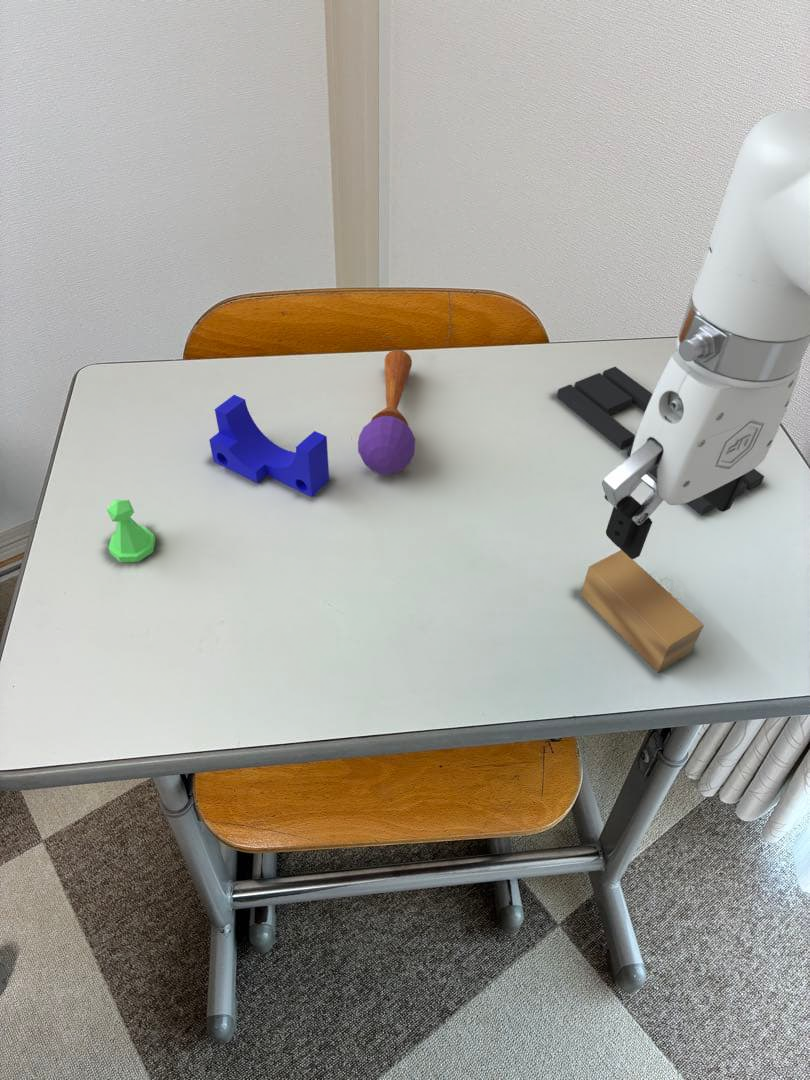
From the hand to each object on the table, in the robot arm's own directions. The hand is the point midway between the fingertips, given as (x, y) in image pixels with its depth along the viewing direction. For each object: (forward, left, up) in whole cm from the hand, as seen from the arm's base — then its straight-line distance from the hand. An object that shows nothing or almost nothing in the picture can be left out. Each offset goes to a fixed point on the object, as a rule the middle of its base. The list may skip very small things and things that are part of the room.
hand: (667, 522), depth 62 cm
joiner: (0, 0, -13) cm, 13 cm away
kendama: (+35, +4, -13) cm, 37 cm away
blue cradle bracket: (+35, +19, -13) cm, 41 cm away
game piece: (+32, +35, -13) cm, 49 cm away
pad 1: (+24, -20, -13) cm, 33 cm away
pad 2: (+12, -20, -13) cm, 26 cm away
